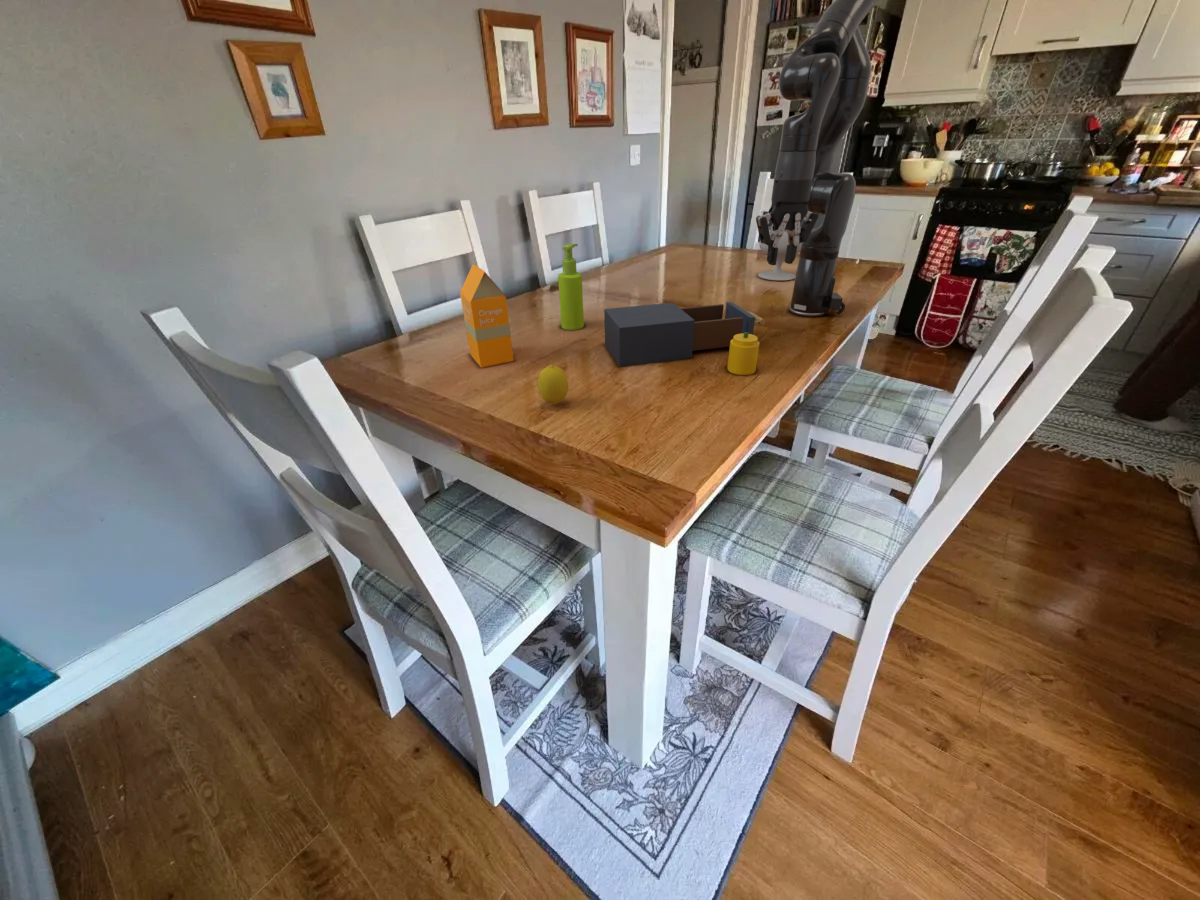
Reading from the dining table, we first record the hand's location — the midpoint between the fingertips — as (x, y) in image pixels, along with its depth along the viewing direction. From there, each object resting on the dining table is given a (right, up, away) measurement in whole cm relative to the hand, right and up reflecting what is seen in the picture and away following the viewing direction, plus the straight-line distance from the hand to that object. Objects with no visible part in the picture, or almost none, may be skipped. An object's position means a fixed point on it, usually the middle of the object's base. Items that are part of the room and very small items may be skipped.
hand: (780, 263), depth 114 cm
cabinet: (-29, -19, +4) cm, 35 cm away
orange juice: (-65, -21, +3) cm, 68 cm away
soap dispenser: (-47, -9, +20) cm, 52 cm away
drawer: (-13, -16, +6) cm, 21 cm away
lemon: (-49, -33, -18) cm, 61 cm away
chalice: (+19, +16, +57) cm, 62 cm away
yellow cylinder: (-10, -25, -6) cm, 27 cm away
